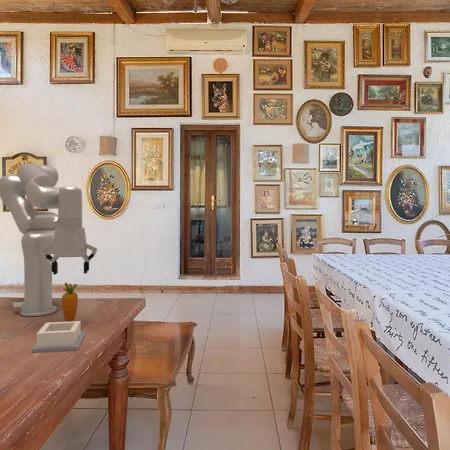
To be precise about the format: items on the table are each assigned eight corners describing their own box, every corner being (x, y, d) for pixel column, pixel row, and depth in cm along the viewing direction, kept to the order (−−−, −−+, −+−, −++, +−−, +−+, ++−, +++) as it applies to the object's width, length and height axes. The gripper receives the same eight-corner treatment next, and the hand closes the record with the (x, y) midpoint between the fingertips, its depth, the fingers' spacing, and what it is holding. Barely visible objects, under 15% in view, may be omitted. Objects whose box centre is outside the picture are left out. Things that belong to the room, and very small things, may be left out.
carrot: (80, 324, 125) (80, 281, 124) (70, 328, 120) (70, 284, 120) (69, 322, 126) (69, 280, 126) (58, 326, 122) (58, 283, 121)
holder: (31, 352, 100) (31, 334, 99) (43, 337, 111) (43, 321, 111) (77, 349, 102) (77, 332, 102) (84, 335, 114) (84, 319, 114)
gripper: (39, 223, 116) (40, 276, 117) (95, 223, 120) (95, 274, 120) (45, 223, 124) (46, 272, 124) (98, 223, 127) (98, 271, 128)
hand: (70, 273), depth 122 cm, fingers open, 9 cm apart
